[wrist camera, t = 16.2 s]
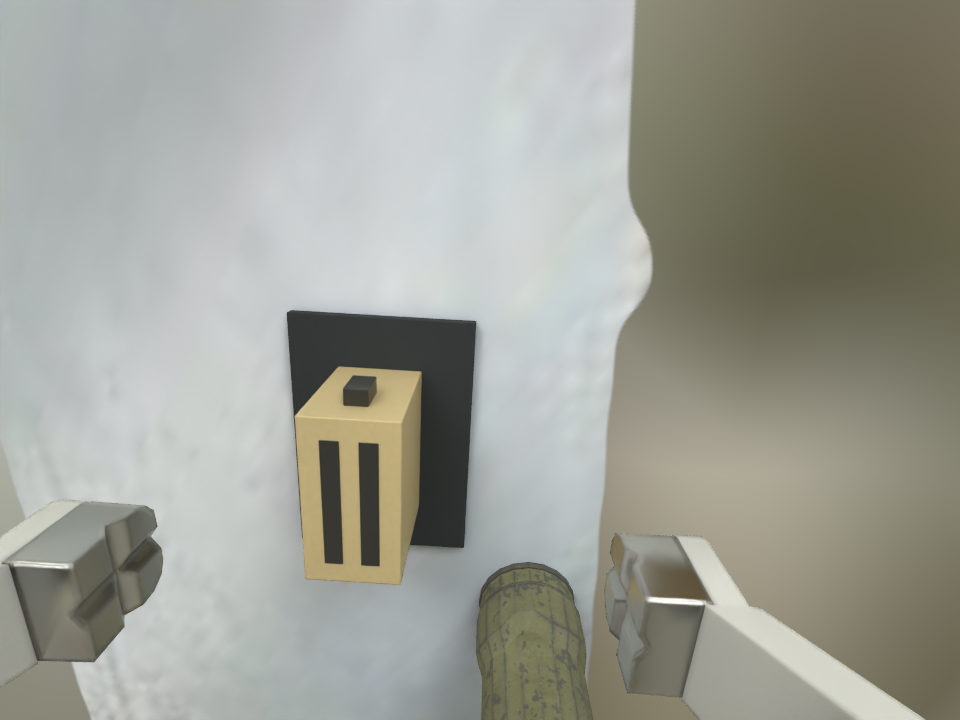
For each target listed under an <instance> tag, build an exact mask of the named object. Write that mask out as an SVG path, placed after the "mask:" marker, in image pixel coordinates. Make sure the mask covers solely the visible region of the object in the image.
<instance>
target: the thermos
mask: <svg viewBox="0 0 960 720" xmlns="http://www.w3.org/2000/svg"><path fill="white" fill-rule="evenodd" d="M479 606H480V611H479V615H478V620H477V635H476V655H477V660H478V665H479V668H480V671H481V675H482V716H481V720H593V716H592V711H591V706H590V701H589V695H588V690H587V685H586V680H585V665H586V647H585V640H584V635H583V630H582V625H581V621H580V616H579V612H578V610H577V609H576V607H575V605H574V596H573V591H572V589H571V587H570V585H569V583H568V581H567V580H566V579H565V578H564V577H563V576H562V575H561V574H560V573H559V572H558V571H556V570H554V569H552V568H550V567H548V566H545V565H543V564H536V563H530V562H526V563H516V564H512V565H509V566H506V567H504V568H501V569H499V570H498V571H497V572H495V573H494V574H493V575H491V576H490V577H489V578H488V580H487V581H486V583H485V584H484V586H483V587H482V590H481V594H480V599H479Z"/></svg>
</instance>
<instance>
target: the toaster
mask: <svg viewBox="0 0 960 720" xmlns="http://www.w3.org/2000/svg"><path fill="white" fill-rule="evenodd" d="M421 384H422V372H420V371H404V370H387V369H371V368H354V367H338V368H337V369H336V370H335V371H334V372H333V373H332V375H331V376H330V377H329V378H328V379H327V380H326V381H325V382H324V384H323V385H322V386H321V387H320V388H319V389H318V390H317V391H316V393H315V394H314V395H313V396H312V397H311V398H310V399H309V401H308V402H307V403H306V404H305V405H304V406H303V407H302V408H301V410H300V411H299V412H298V413H297V414H296V415H295V428H296V443H297V458H298V473H299V488H300V503H301V518H302V533H303V548H304V563H305V578H306V579H313V580H330V581H346V582H363V583H379V584H396V585H400V584H401V581H402V577H403V572H404V568H405V564H406V559H407V555H408V550H409V546H410V542H411V537H412V533H413V529H414V524H415V520H416V516H417V511H418V507H419V478H420V431H421Z"/></svg>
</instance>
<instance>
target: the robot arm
mask: <svg viewBox="0 0 960 720" xmlns="http://www.w3.org/2000/svg"><path fill="white" fill-rule="evenodd" d="M156 528H157V523H156V518H155V514H154V510H152V509H150V508H149V507H147V506H143V505H130V504H118V503H105V502H93V501H91V502H87V501H76V500H59V501H54V502H50V503H49V504H47V505H46V506H45V507H43V508H42V509H40V510H39V511H37V512H36V513H34V514H33V515H32V516H30V517H29V518H27V519H26V520H24V521H23V522H21V523H20V524H18V525H17V526H16V527H14V528H13V529H11V530H10V531H8V532H7V533H6V534H4V535H3V536H1V537H0V688H1V687H3V686H4V685H6V684H7V683H9V682H10V681H12V680H13V679H15V678H17V677H18V676H20V675H21V674H23V673H24V672H26V671H27V670H29V669H31V668H32V667H33V666H35V665H37V663H38V661H68V662H69V661H70V662H95V661H96V659H97V658H98V657H99V656H100V655H101V654H102V652H103V651H104V650H105V649H106V648H107V646H108V645H109V644H110V643H111V642H112V641H113V639H114V638H115V637H116V636H117V635H118V634H119V632H120V631H121V630H122V629H123V628H124V615H126V614H127V613H129V612H131V611H133V610H135V609H136V608H138V607H140V606H142V605H143V604H144V603H145V602H146V600H147V599H148V598H149V597H150V596H151V594H152V593H153V592H154V590H155V588H156V586H157V583H158V581H159V579H160V576H161V574H162V565H163V556H162V550H161V547H160V546H159V545H158V544H157V543H156V542H155V541H154V540H153V539H152V537H151V535H152V534H153V532H154V531H155V529H156ZM610 554H611V557H612V560H613V563H614V567H613V568H612V569H611V570H610V571H608V573H607V574H606V582H605V590H604V593H605V611H606V618H607V622H608V626H609V630H610V632H611V633H612V634H613V635H614V636H615V637H616V638H617V639H618V640H619V644H618V649H617V654H616V655H617V658H618V662H619V666H620V669H621V673H622V676H623V680H624V683H625V687H626V690H627V693H636V694H646V695H658V696H669V697H680V698H682V701H683V703H684V704H685V705H686V706H687V707H688V708H689V709H690V711H691V712H692V713H693V714H694V715H695V716H696V717H697V719H698V720H925V719H924V718H922V717H921V716H919V715H918V714H916V713H915V712H913V711H912V710H910V709H909V708H907V707H906V706H904V705H903V704H902V703H900V702H899V701H897V700H896V699H894V698H893V697H891V696H890V695H888V694H887V693H885V692H884V691H882V690H881V689H879V688H878V687H876V686H875V685H873V684H872V683H870V682H869V681H867V680H866V679H864V678H863V677H862V676H860V675H858V674H857V673H856V672H854V671H852V670H851V669H850V668H848V667H847V666H845V665H844V664H842V663H841V662H839V661H838V660H836V659H835V658H833V657H832V656H830V655H829V654H828V653H826V652H825V651H823V650H822V649H820V648H819V647H817V646H816V645H814V644H813V643H811V642H809V641H808V640H807V639H805V638H804V637H802V636H801V635H799V634H798V633H796V632H795V631H793V630H792V629H790V628H789V627H788V626H786V625H785V624H783V623H782V622H780V621H779V620H777V619H776V618H774V617H773V616H771V615H770V614H768V613H767V612H765V611H764V610H762V609H761V608H758V607H757V608H756V607H750V606H749V604H748V603H747V601H746V600H745V598H744V597H743V595H742V594H741V592H740V591H739V589H738V587H737V586H736V584H735V583H734V581H733V580H732V578H731V577H730V575H729V573H728V572H727V570H726V569H725V567H724V566H723V564H722V563H721V561H720V560H719V558H718V556H717V555H716V553H715V552H714V550H713V549H712V547H711V546H710V544H709V543H708V541H707V540H706V539H705V538H703V537H702V536H687V535H686V536H685V535H672V536H661V535H641V534H622V533H615V535H614V537H613V540H612V544H611V550H610Z"/></svg>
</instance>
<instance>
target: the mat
mask: <svg viewBox="0 0 960 720" xmlns="http://www.w3.org/2000/svg"><path fill="white" fill-rule="evenodd" d="M287 321H288V336H289V351H290V365H291V380H292V394H293V409H294V424H295V415H296V414H297V413H298V412H299V411H300V410H301V408H302V407H303V406H304V405H305V404H306V403H307V402H308V401H309V399H310V398H311V397H312V396H313V395H314V394H315V393H316V391H317V390H318V389H319V388H320V387H321V386H322V385H323V384H324V382H325V381H326V380H327V379H328V378H329V377H330V376H331V375H332V373H333V372H334V371H335V370H336V369H337V368H338V367H354V368H371V369H387V370H404V371H420V372H422V384H421V431H420V478H419V507H418V511H417V516H416V520H415V524H414V529H413V533H412V537H411V542H410V545H426V546H442V547H459V548H463V547H464V534H465V516H466V498H467V479H468V461H469V443H470V425H471V406H472V388H473V370H474V352H475V333H476V321H463V320H446V319H429V318H412V317H395V316H378V315H361V314H344V313H328V312H311V311H294V310H291V311H289V312H287ZM295 438H296V428H295ZM296 453H297V443H296ZM297 467H298V458H297ZM298 482H299V473H298ZM299 496H300V488H299ZM300 511H301V503H300ZM301 526H302V518H301ZM302 538H303V533H302Z"/></svg>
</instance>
